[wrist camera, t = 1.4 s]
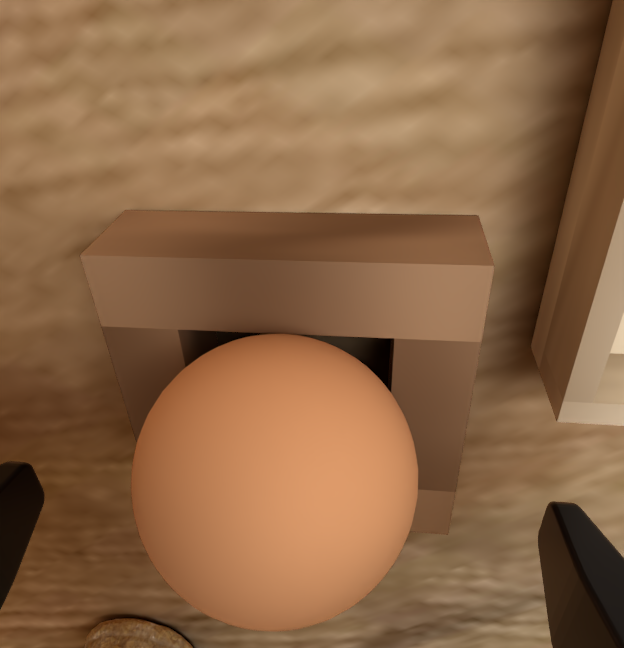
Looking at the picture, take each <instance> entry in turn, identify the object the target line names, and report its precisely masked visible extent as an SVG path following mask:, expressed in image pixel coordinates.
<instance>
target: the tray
mask: <svg viewBox="0 0 624 648" xmlns="http://www.w3.org/2000/svg"><path fill="white" fill-rule="evenodd" d="M531 349H532V352H533V355H534V358H535V361H536V363H537V366H538V369H539V372H540V375H541V378H542V381H543V383H544V386H545V389H546V392H547V395H548V398H549V401H550V403H551V406H552V409H553V412H554V415H555V418H556V421H557V422H566V423H583V424H600V425H618V426H624V0H613V1H612V6H611V10H610V14H609V18H608V22H607V27H606V31H605V35H604V39H603V44H602V48H601V52H600V56H599V60H598V65H597V69H596V73H595V77H594V82H593V86H592V90H591V94H590V98H589V103H588V107H587V111H586V115H585V120H584V124H583V128H582V132H581V136H580V141H579V145H578V149H577V153H576V158H575V162H574V166H573V170H572V174H571V179H570V183H569V187H568V191H567V196H566V200H565V204H564V208H563V212H562V217H561V221H560V225H559V229H558V234H557V238H556V242H555V246H554V250H553V255H552V259H551V263H550V267H549V272H548V276H547V280H546V284H545V288H544V293H543V297H542V301H541V305H540V310H539V314H538V318H537V322H536V326H535V331H534V335H533V339H532V343H531Z"/></svg>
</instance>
